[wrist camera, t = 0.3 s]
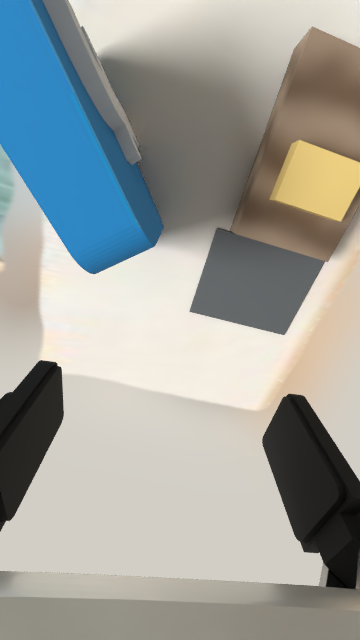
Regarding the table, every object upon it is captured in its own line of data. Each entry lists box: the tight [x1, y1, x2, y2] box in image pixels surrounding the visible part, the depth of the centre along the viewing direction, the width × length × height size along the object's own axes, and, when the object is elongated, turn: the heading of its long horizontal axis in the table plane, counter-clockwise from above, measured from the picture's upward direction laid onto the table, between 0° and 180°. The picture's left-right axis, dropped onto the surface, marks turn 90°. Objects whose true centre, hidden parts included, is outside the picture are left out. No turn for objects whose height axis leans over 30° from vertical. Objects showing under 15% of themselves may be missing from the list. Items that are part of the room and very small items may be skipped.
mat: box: [190, 228, 325, 335], centre depth 40 cm, size 14×18×1 cm
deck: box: [230, 27, 360, 262], centre depth 30 cm, size 20×14×4 cm
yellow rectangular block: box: [269, 140, 360, 222], centre depth 29 cm, size 6×9×2 cm, turn 74°
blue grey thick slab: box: [0, 0, 163, 274], centre depth 23 cm, size 20×8×20 cm, turn 25°
